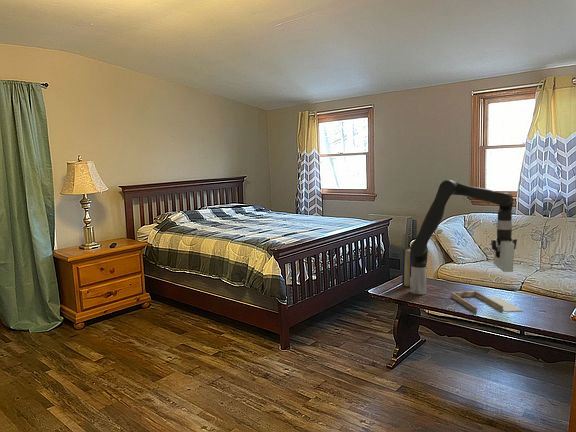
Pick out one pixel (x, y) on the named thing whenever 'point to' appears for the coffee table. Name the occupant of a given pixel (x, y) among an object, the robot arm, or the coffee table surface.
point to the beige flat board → (506, 305)
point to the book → (406, 267)
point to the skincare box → (505, 256)
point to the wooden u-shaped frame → (458, 296)
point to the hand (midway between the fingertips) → (503, 257)
